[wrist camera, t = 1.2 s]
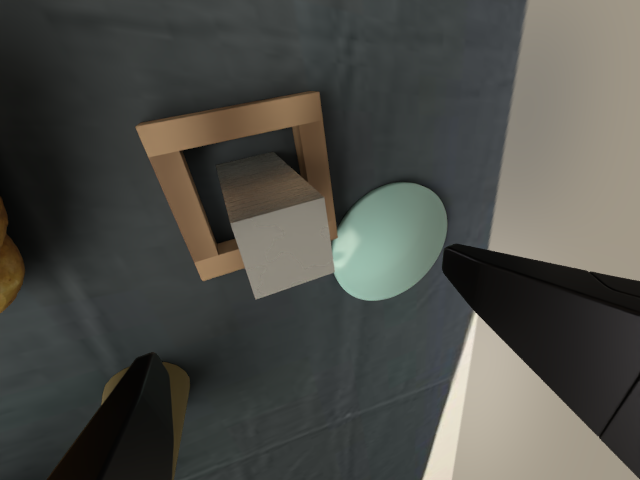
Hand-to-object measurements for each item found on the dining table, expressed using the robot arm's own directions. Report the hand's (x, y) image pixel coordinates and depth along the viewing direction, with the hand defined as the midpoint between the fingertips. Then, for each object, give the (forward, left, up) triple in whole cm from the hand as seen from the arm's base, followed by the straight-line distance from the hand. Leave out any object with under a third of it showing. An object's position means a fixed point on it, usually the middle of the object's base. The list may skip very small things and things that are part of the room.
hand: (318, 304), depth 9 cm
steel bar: (0, 0, -13) cm, 13 cm away
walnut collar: (0, 0, -13) cm, 13 cm away
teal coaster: (-10, +8, -13) cm, 18 cm away
